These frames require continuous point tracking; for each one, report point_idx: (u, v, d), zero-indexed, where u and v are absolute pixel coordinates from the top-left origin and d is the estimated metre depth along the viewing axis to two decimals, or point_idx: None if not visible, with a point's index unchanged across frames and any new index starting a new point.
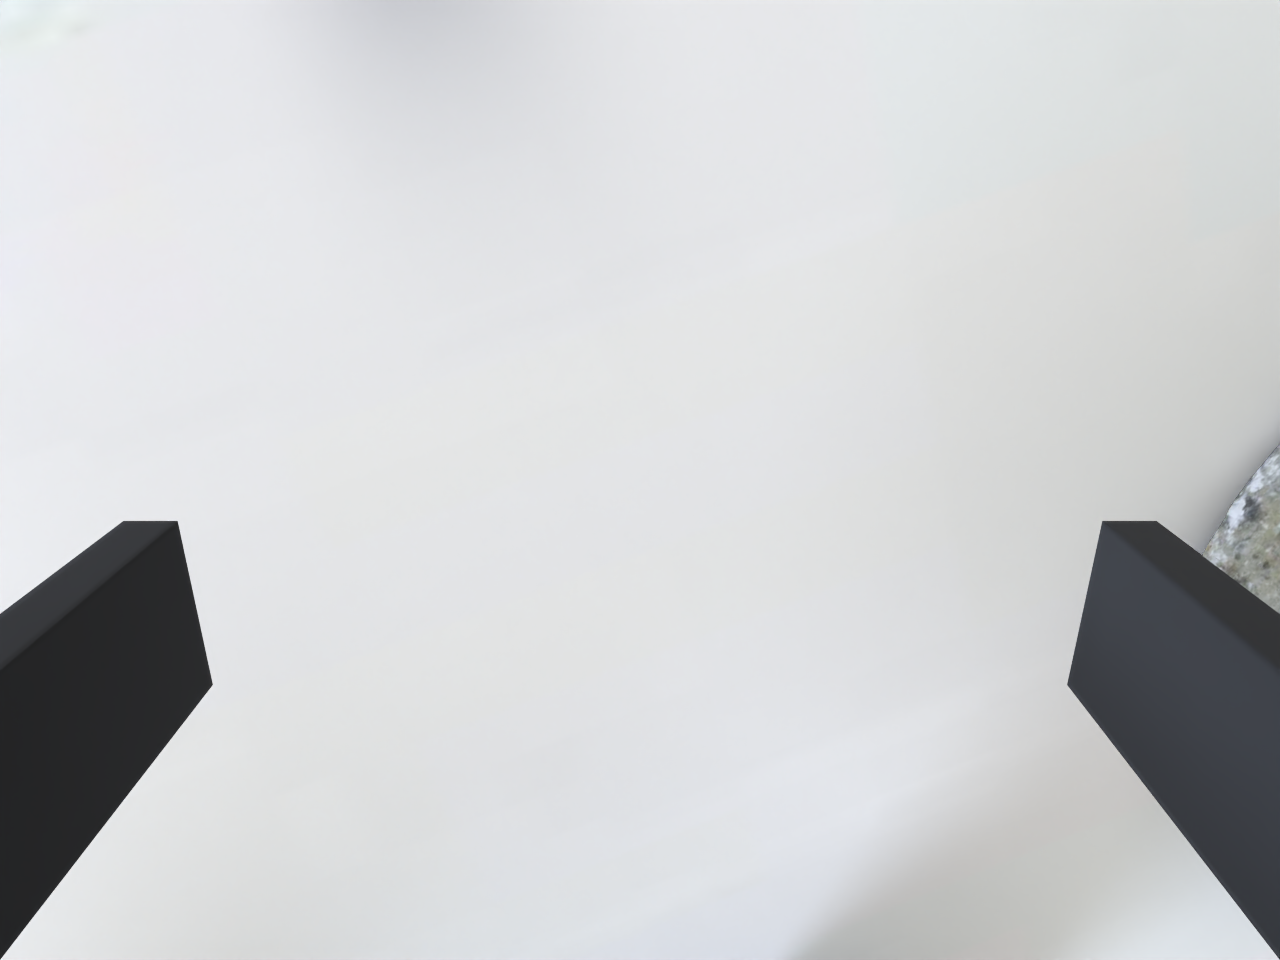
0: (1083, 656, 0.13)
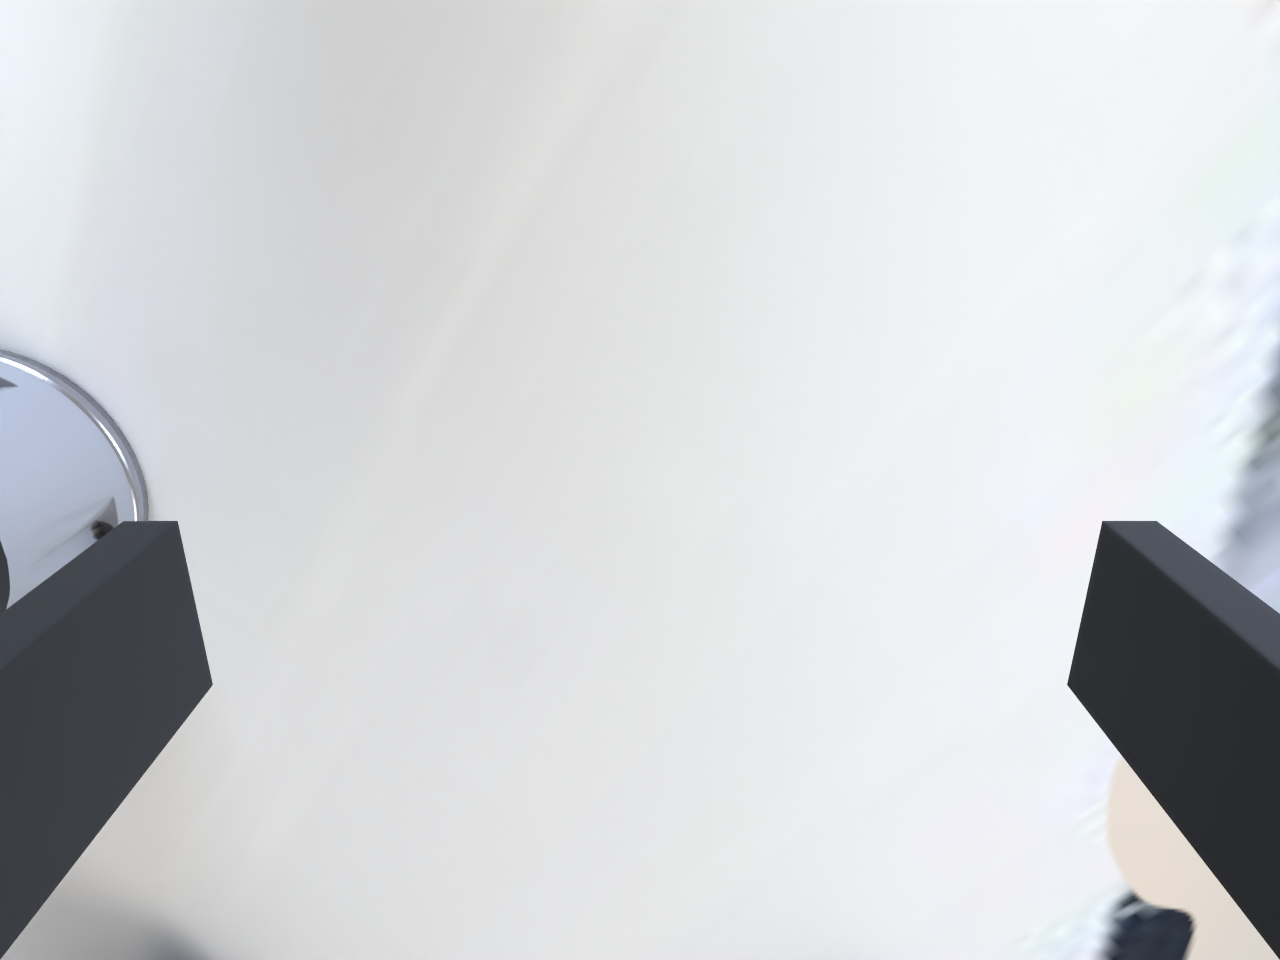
0: (1083, 656, 0.13)
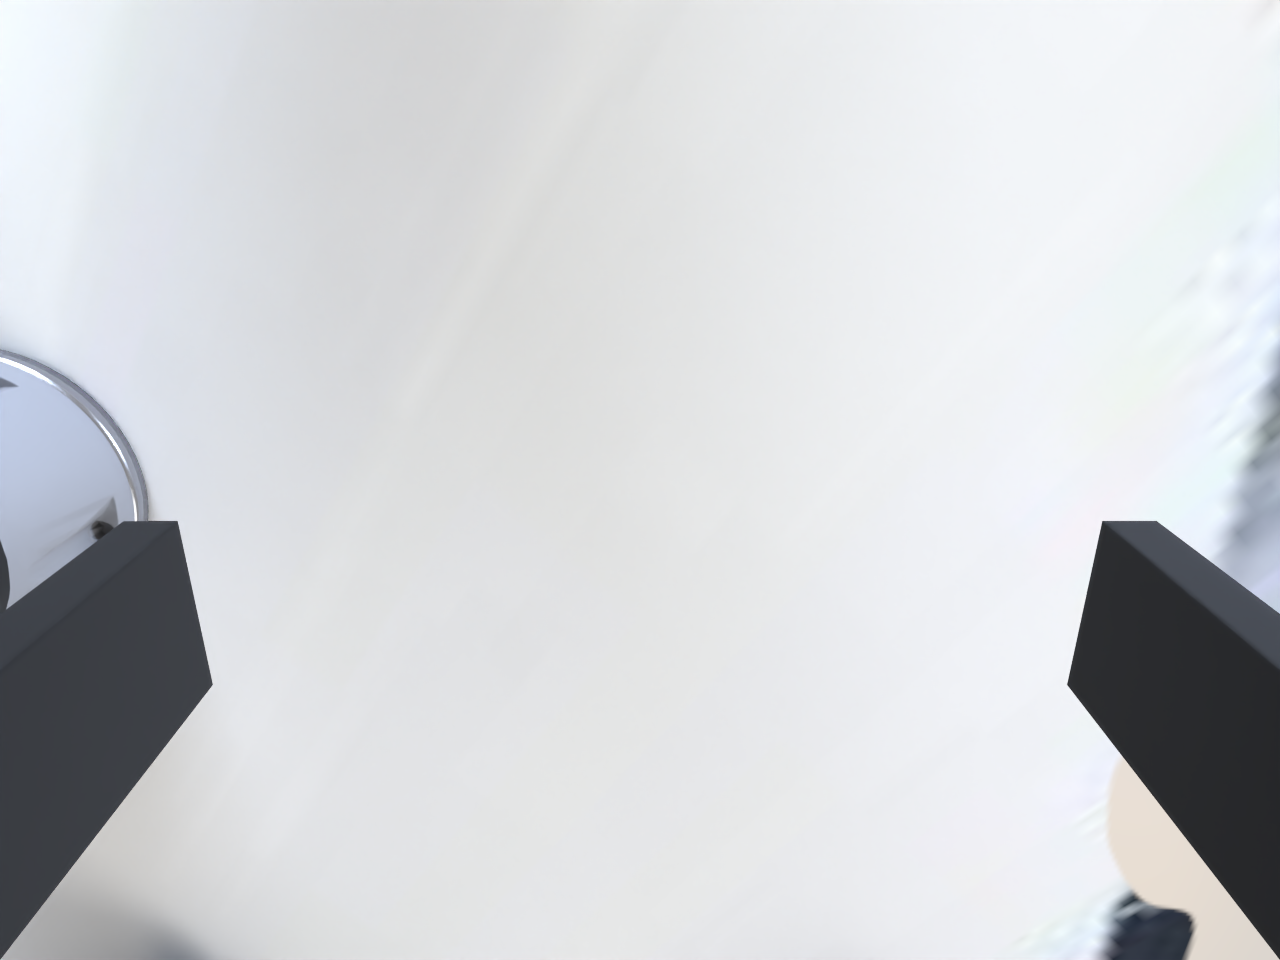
0: (1083, 656, 0.13)
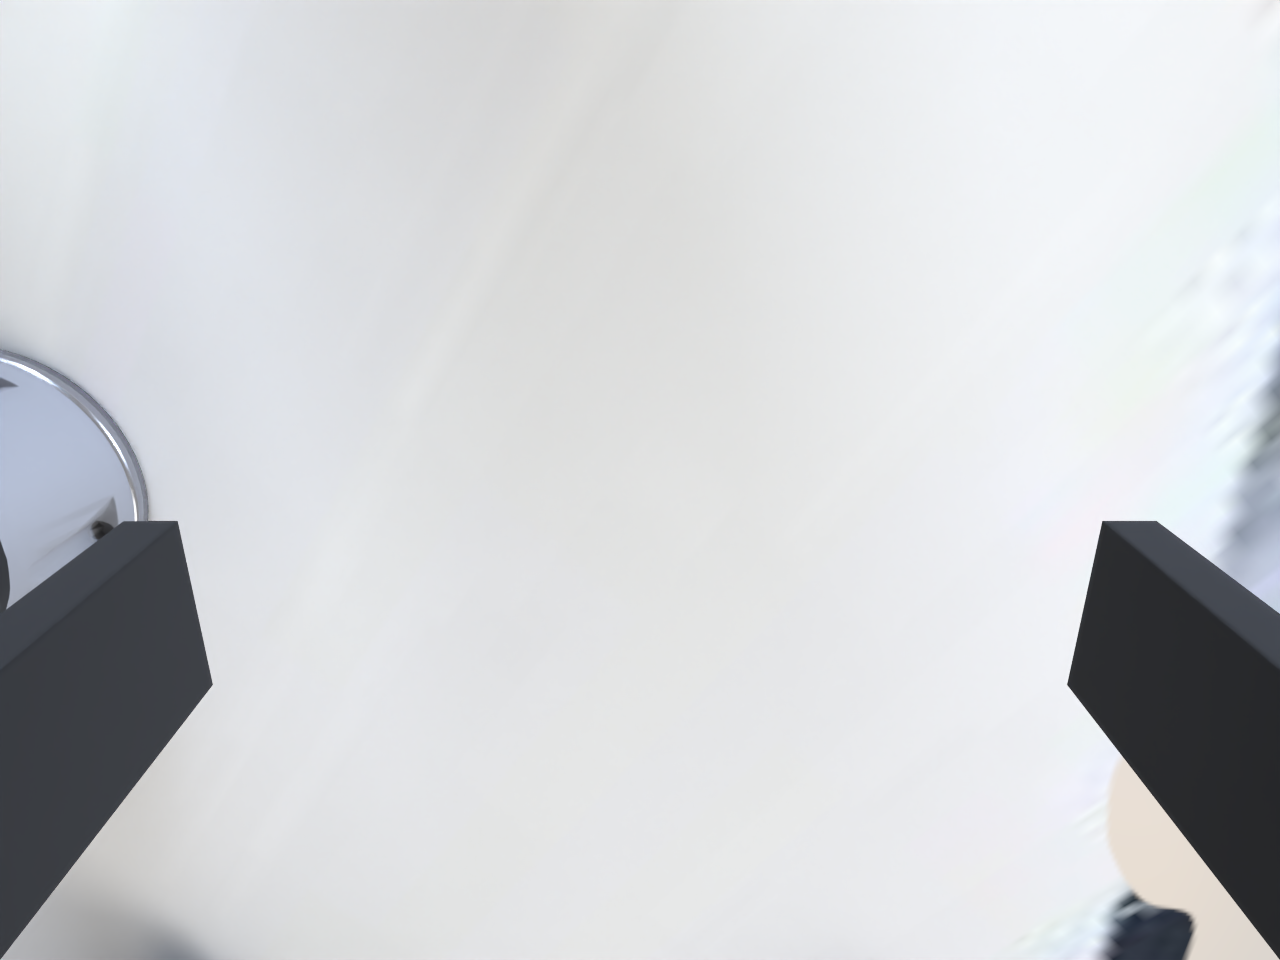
0: (1083, 656, 0.13)
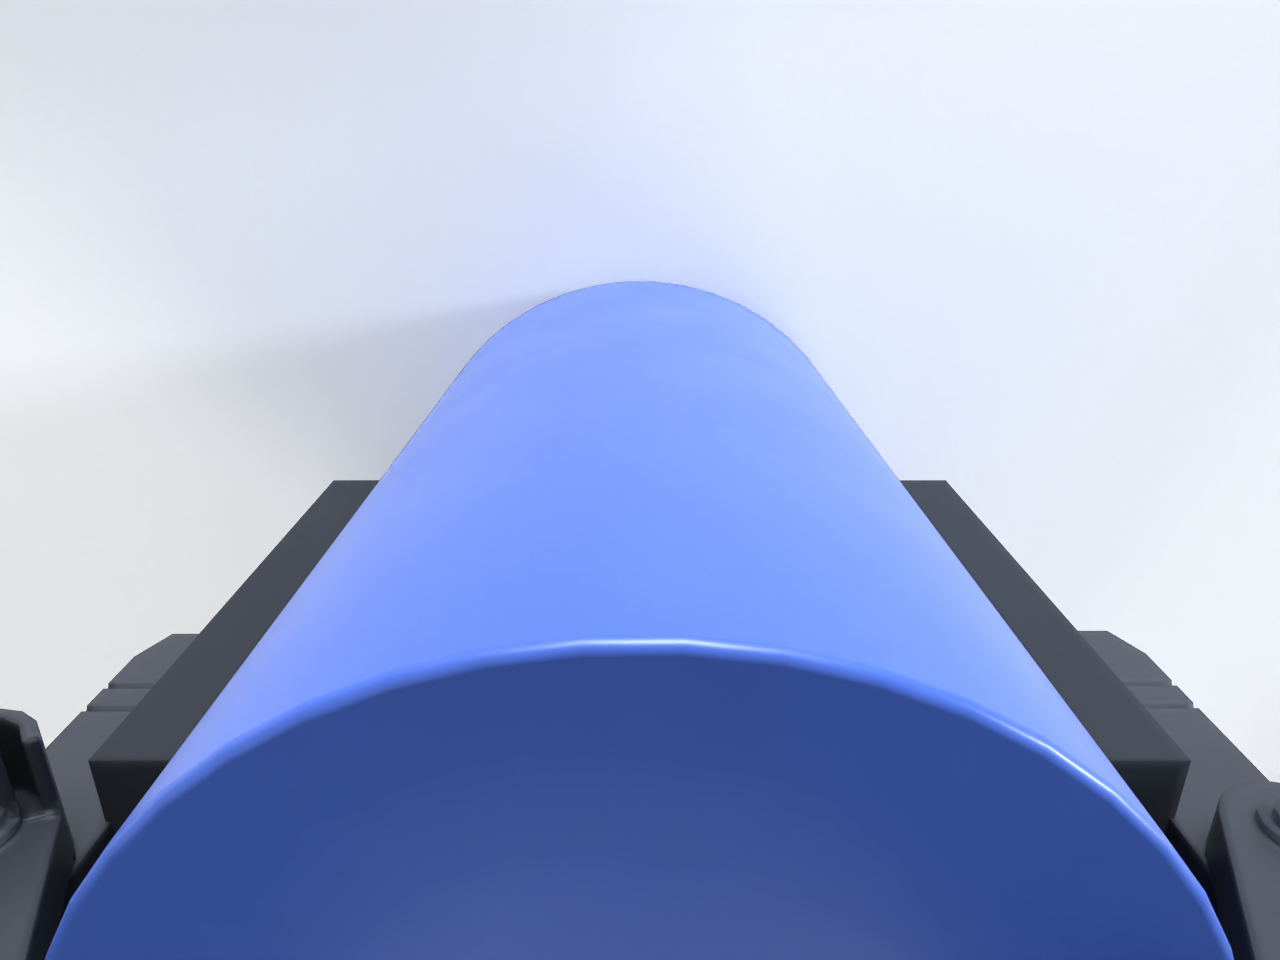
0: None
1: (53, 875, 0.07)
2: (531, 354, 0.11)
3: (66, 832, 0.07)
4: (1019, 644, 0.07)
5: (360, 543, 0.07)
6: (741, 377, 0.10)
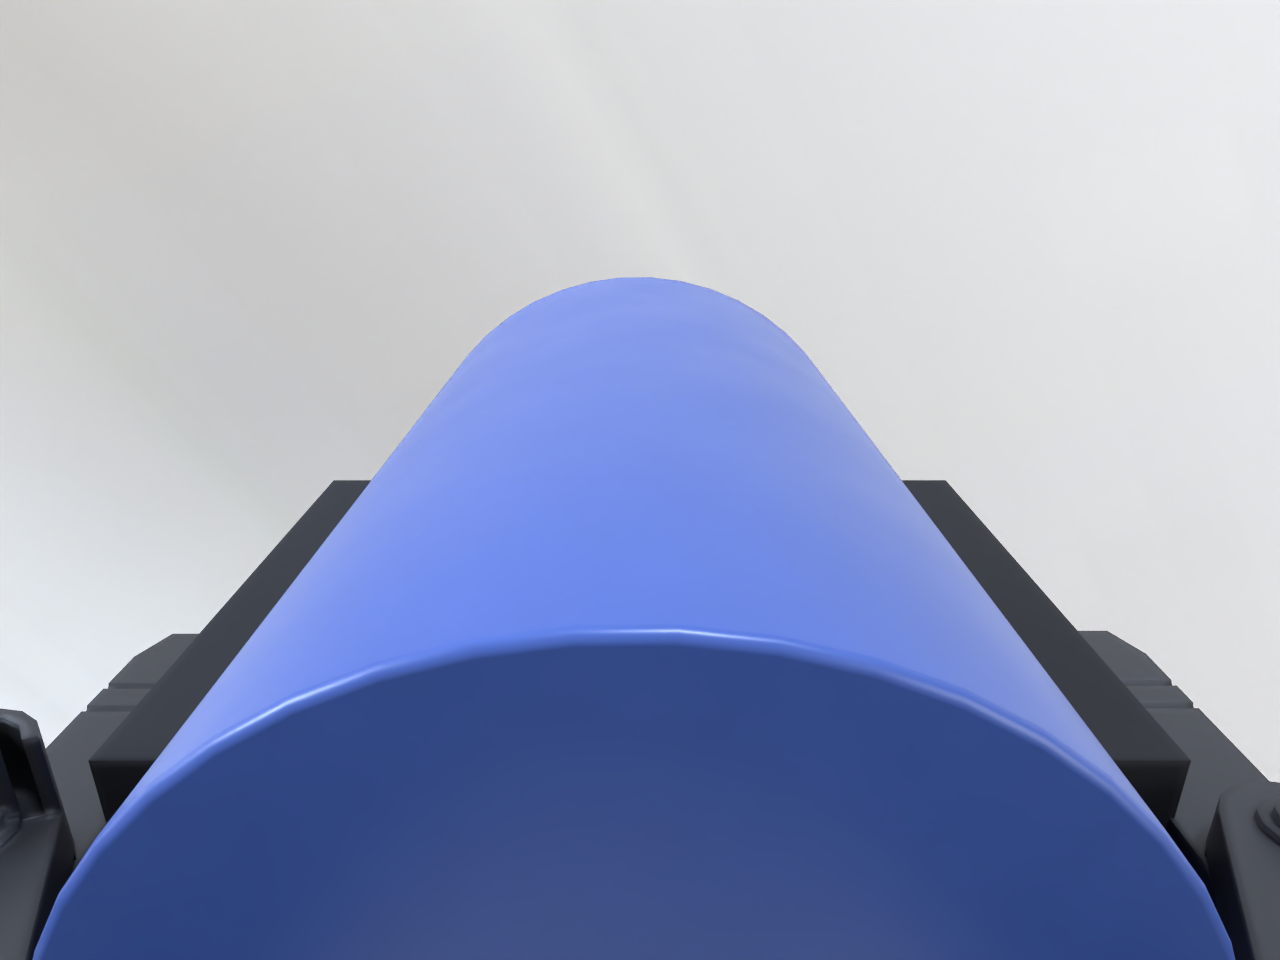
0: None
1: (54, 875, 0.07)
2: (527, 349, 0.11)
3: (67, 832, 0.07)
4: (1017, 637, 0.07)
5: (353, 536, 0.07)
6: (738, 371, 0.10)
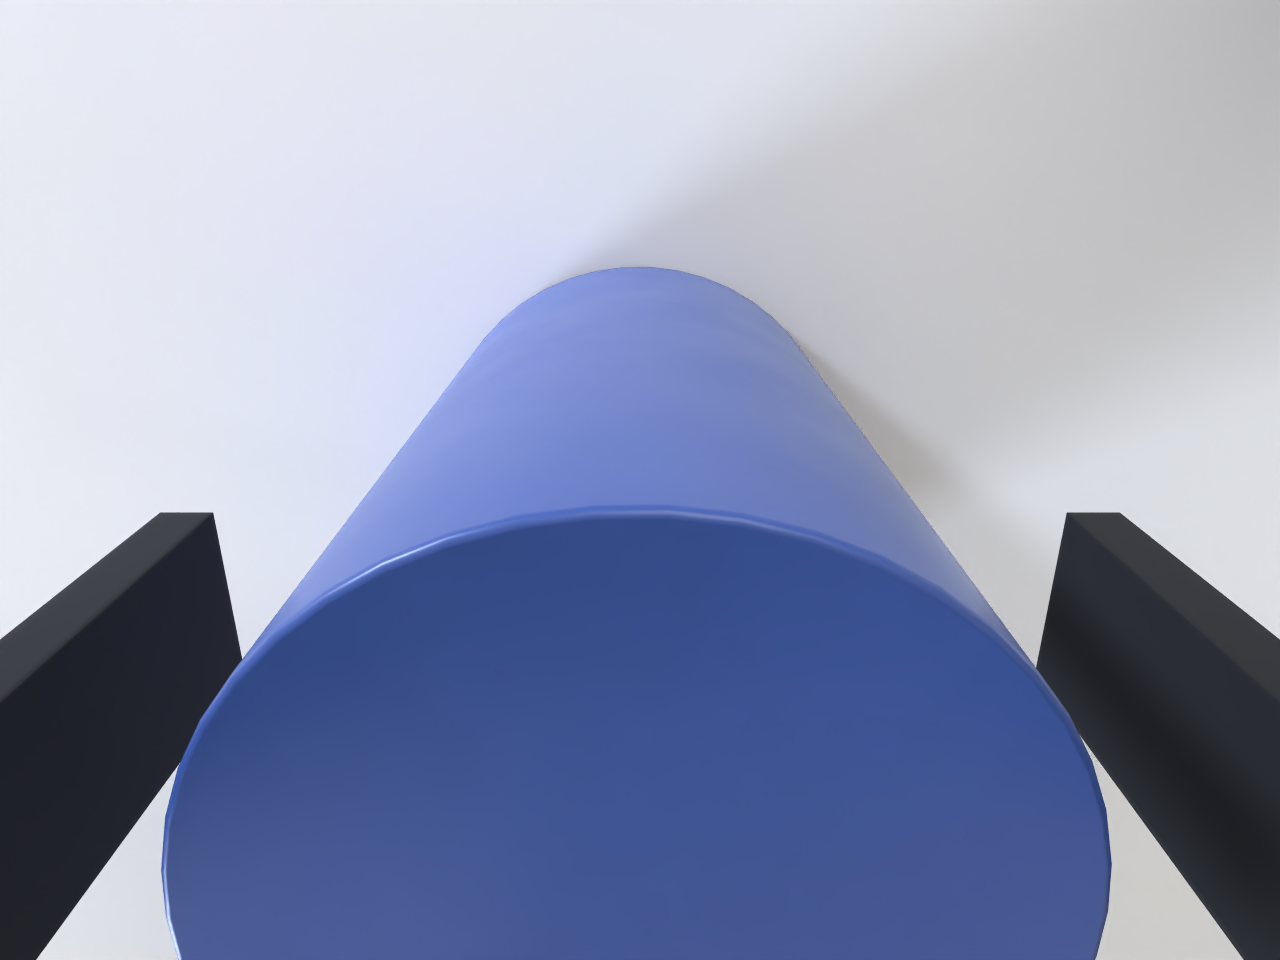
0: (1050, 644, 0.13)
1: None
2: (543, 326, 0.13)
3: None
4: (944, 547, 0.08)
5: (408, 468, 0.09)
6: (725, 343, 0.11)
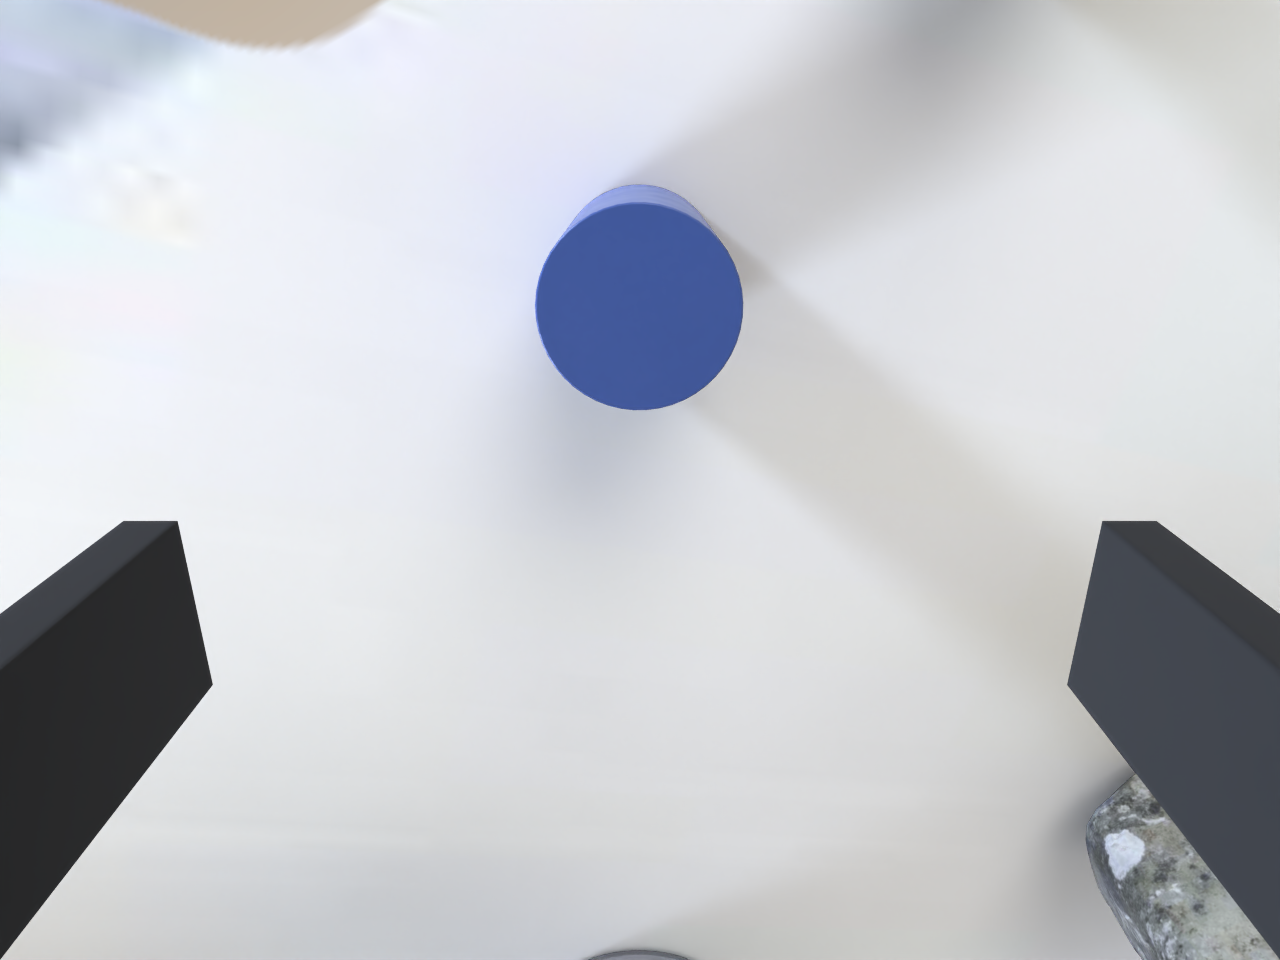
0: (1083, 656, 0.13)
1: None
2: (608, 195, 0.39)
3: None
4: None
5: (582, 215, 0.35)
6: (665, 196, 0.37)
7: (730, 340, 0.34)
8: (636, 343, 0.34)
